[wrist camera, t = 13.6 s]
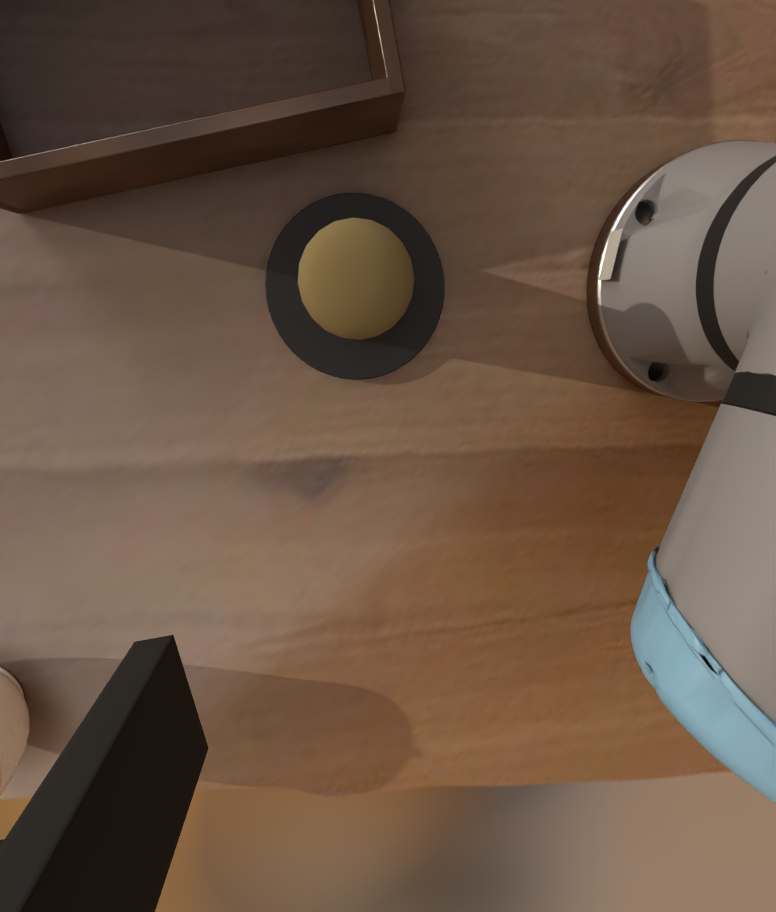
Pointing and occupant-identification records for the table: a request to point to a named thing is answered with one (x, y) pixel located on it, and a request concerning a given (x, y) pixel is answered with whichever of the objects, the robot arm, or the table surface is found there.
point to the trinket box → (11, 726)
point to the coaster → (331, 349)
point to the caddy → (217, 135)
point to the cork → (356, 278)
